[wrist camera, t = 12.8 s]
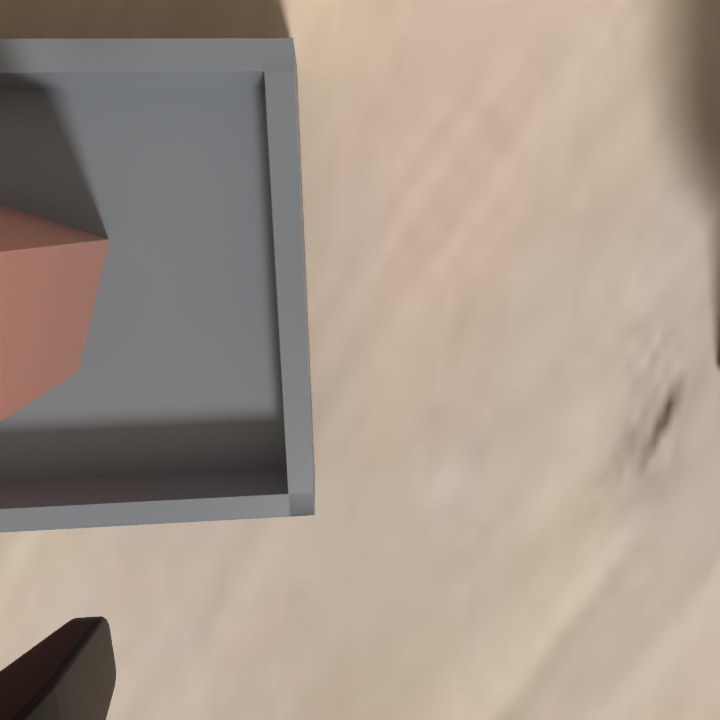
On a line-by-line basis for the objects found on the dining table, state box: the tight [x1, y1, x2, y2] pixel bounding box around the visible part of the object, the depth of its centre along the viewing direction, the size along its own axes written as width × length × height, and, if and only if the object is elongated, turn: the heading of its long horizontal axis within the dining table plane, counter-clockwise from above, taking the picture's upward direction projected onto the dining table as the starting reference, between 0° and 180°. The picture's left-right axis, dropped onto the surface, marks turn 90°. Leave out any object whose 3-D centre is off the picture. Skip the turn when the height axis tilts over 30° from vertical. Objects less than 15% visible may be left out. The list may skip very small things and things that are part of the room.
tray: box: [0, 38, 315, 532], centre depth 18 cm, size 16×14×3 cm
